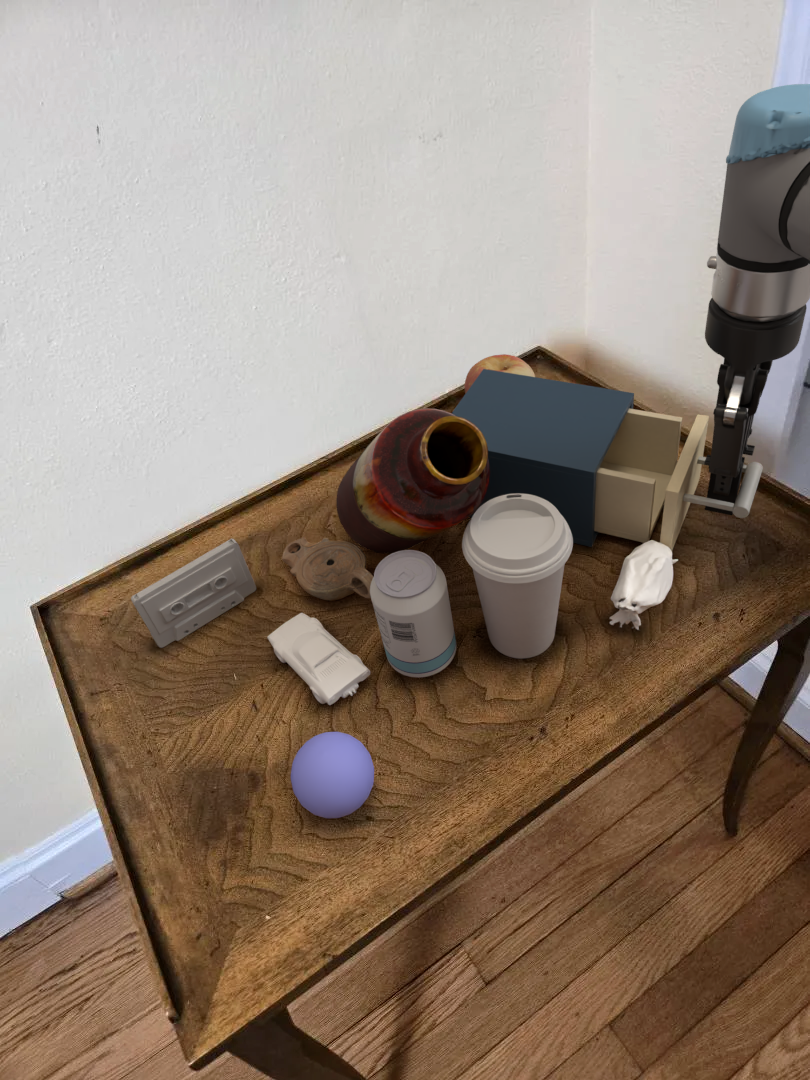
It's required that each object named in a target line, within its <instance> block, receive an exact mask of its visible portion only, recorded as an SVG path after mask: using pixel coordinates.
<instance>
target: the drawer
mask: <svg viewBox="0 0 810 1080" xmlns="http://www.w3.org/2000/svg"><path fill="white" fill-rule="evenodd" d="M709 420H710V415H706V414H701V413H700V414H699V413H698V414H696V416H695V418H694V421H693V424H692V427H691V428H690V431H689V433H688V436H687V438H686V441H685V443H684V445H683V448H682V450H681V452H680V455H679V449H680V441H681V432H682V425H683V417H682V416H676V415H670V414H664V413H658V412H651V411H648V410H647V411H646V410H640V409H636V408H635V409H634V408H633V409H630V408H629V410H628V411H627V413H626V415H625V417H624V419H623V421H622V423H621V425H620V427H619V429H618V431H617V433H616V435H615V437H614V439H613V441H612V443H611V445H610V447H609V449H608V451H607V453H606V455H605V457H604V459H603V461H602V463H601V465H600V467H599V469H598V471H597V473H596V498H595V528H594V531H597V532H599V533H601V534H606V535H610V536H613V537H618V538H621V539H622V538H623V539H626V540H631V541H634V542H639V543H642V544H643V543H645V542H648V541H650V539H651V537H652V535H653V532H654V529H655V527H656V524H657V523H658V520H659V518H660V515H661V512H662V510H663V512H662V519H661V520H662V521H661V529H660V538H659V542H660V543H662V544H664V545H666V546H668V547H669V548H670V549H671V551H672V552H673V550H674V548H675V545H676V542H677V540H678V537H679V534H680V532H681V528H682V527H683V523H684V520H685V519H686V516H687V513H688V511H689V508H690V505H691V504H696V505H701V506H704V507H705V506H709V507H714V508H719V509H724V510H728V511H733V515H734V517H736V518H738V519H739V518H740V519H745V518H747V517H748V516H749V514H750V512H751V508H752V505H753V502H754V499H755V495H756V492H757V489H758V486H759V483H760V479H761V476H762V473H763V470H764V467H763V465H762V464H761V463H760V462H758V461H751V462H749V463H748V464H744V465H743V470H742V473H744V474H743V477H742V481H741V482H740V485H739V490H738V495H737V498H736V501H735V504H734V503H730V502H725V501H720V500H715V499H711V498H707V496H706V497H705V496H701V495H695V492H696V490H697V487H698V484H699V482H700V480H701V479H700V478H701V472H702V466H705V465H704V462H705V459H706V457H707V456H704V452H705V446H706V439H707V433H708V426H709ZM678 456H679V457H678ZM707 466H708V467H709V465H707Z"/></svg>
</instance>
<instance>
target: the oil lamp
mask: <svg viewBox="0 0 810 1080" xmlns="http://www.w3.org/2000/svg"><path fill="white" fill-rule="evenodd" d="M281 560H282V562H283V563H285V564H286V565H287V566H288V567H289V568H290V570H289V572H290V574H291V575H292V576H294V577H296V581H297V583H298V584H299V586H300V587H301V588H302V589H303V590H304V592H306V593H307V594H308V595H311V596H313V597H315V598H316V599H320V600H323V601H324V600H325V601H336V600H337V601H338V600H341V599H345V598H346V597H349V596H351V595H352V594H354V593H356V594H358V595H359V596H361V597H363V598H365V599H371V596H370V585H371V582H372V579H373V577H374V574H372V573H371V572H370V571H369V570H367V567H368V566H367V565H368V564H367V556H366V554H365V553H364V551H363V550H362V548H360V547H359V545H356V544H355V543H352V542H349V541H346V540H330V539H329V537H323V538H322V539H321V540H320V541H318V542H309V541H308V540H307V539H306V537H305V536H303V537H300V538H297V539H295V540H293V541H290V543H288V544H287V545H286V546H285V548H284V549H283V553H282V556H281Z"/></svg>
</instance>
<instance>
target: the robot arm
mask: <svg viewBox="0 0 810 1080" xmlns="http://www.w3.org/2000/svg"><path fill="white" fill-rule="evenodd" d="M733 126H734V127H733V130H732V131H733V132H732V136H731V141H730V146H729V150H728V155H727V156H726V157H725V163H726V171H725V180H724V189H723V195H722V202H721V203H722V204H721V212H720V220H719V228H718V236H717V244H716V245H717V246H716V252H715V253H716V255H711V256H709V257H708V259H707V261H706V267H707V268H708V269H712V270H715V271H714V273H713V277H712V285H711V291H710V295H711V298H710V300H709V302H708V306H707V307H708V308H707V315H706V322H705V330H704V339H705V343H706V344H707V346H708V347H709V348H710V350H711V351H712V352H714V353H715V354H716V355H719V356H720V357H722V358H723V363H720V365H719V368H718V373H717V379H716V384H717V386H718V390H717V391H718V392H717V398H716V405H715V408H714V409H713V413H712V414H713V423H714V424H713V434H712V442H711V452H710V454H706V456H705V457H706V459H705V462H704V465H703V466H708V465H709V466H708V468H707V469H708V473H709V474H710V475H709V481H708V488H707V493H706V494H707V495H706V498H711V499H715V500H720V501H725V502H730V503H734V504H735V501H736V498H737V495H738V492H739V489H740V486H741V479H742V474H743V472H742V470H743V465H745V459H746V457H745V456H744V455H746V456H753V455H754V451H755V448H756V445H753V444H748V440H749V438H750V437H751V435H752V433H753V429H752V427H753V423H754V417H755V415H756V413H757V410H758V408H759V405H760V401H761V398H762V395H763V392H764V389H765V387H766V384H767V381H768V375H769V374H770V371H771V368H772V366H773V362H774V361H776V360H779V359H781V358H783V357H786V356H787V355H789V354H790V353H792V352H793V351H794V350H795V349H796V348H797V346H798V344H799V342H800V340H801V335H802V331H803V326H804V322H805V318H806V313H807V303H808V302H809V301H810V83H796V84H785V85H779V86H775V87H771V88H769V89H765V90H761V91H759V92H757V93H755V94H753V95H752V96H751V97H749V98H748V99H746V100H745V101H743V103H742V104H741V106H740V107H739V109H738V111H737V114H736V117H735V121H734V125H733ZM704 511H707V512H713V513H716V514H717V513H718V514H723V515H727V516H733V515H734V514H733V511H728V510H724V509H719V508H714V507H709V506H705V505H704Z"/></svg>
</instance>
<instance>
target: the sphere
mask: <svg viewBox="0 0 810 1080" xmlns="http://www.w3.org/2000/svg"><path fill="white" fill-rule="evenodd" d="M291 763H292V764H291V768H290V783H291V788H292V791H293V792H292V793H293V794H294V796H295V797H296V799H297V801H298V802H299V804H300V805H301V807H303V808H304V809H306V810H307V811H309V812H310V813H311V814H313V815H314V816H318V817H320V818H324V819H340V818H343V817H347V816H349V815H351V814H352V813H354V812H356V811H358V809H359V808H361V807H362V806H363V805H364V803H365V802H366V800H368V798H369V796H370V794H371V791H372V788H374V787H373V786H374V783H375V782H374V781H375V765H374V762H373V759H372V755H371V753H370V752H369V750H368V749H367V747H366V746H365V745H364V744H363V743H362V741H360V740H359V739H357V738H356V737H354V736H353V735H351V734H349V733H345V732H341V731H325V732H322V733H319V734H316V735H314V736H313V737H311V738H309V739H308V740H306V741H305V742H304V744H303V745H302V746H301V747H300V748H299V749H298V750H297V752H296V754H295V756H294V758H293V761H292V762H291Z"/></svg>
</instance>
